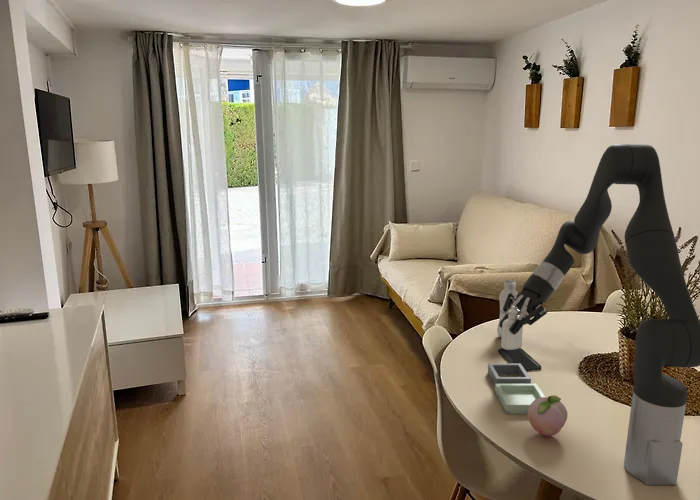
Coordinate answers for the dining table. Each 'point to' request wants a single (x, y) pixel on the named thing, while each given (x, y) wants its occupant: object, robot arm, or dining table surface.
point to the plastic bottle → (508, 289)
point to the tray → (517, 397)
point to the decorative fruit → (547, 415)
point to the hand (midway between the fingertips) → (506, 329)
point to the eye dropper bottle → (509, 339)
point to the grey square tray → (508, 373)
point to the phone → (520, 358)
